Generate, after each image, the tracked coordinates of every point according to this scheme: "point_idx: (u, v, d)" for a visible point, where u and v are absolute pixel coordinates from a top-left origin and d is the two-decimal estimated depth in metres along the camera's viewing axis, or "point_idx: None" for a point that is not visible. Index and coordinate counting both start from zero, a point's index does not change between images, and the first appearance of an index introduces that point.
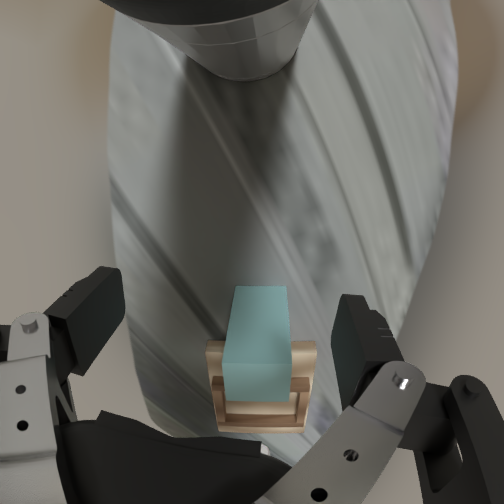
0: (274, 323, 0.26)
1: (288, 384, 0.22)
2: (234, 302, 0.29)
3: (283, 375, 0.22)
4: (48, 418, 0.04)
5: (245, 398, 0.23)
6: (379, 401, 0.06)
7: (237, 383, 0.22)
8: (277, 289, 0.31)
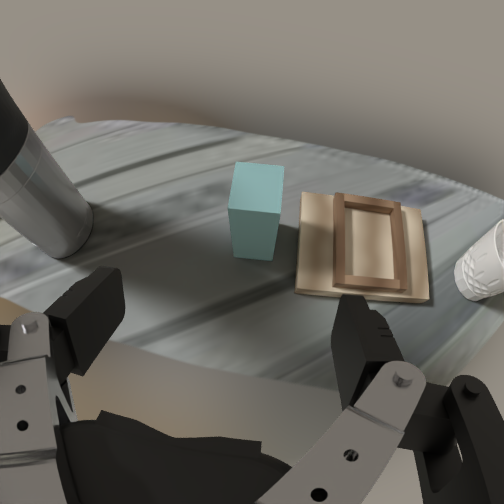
0: None
1: (260, 165, 0.28)
2: None
3: (248, 167, 0.28)
4: (48, 418, 0.04)
5: (278, 197, 0.27)
6: (379, 401, 0.06)
7: (255, 200, 0.27)
8: None
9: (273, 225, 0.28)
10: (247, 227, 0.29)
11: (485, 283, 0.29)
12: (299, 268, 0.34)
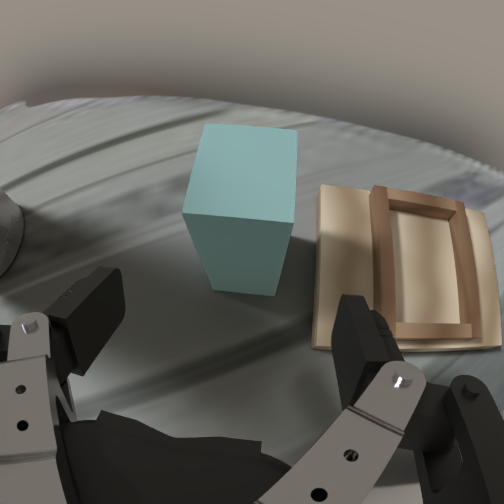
0: None
1: (251, 128, 0.14)
2: None
3: (227, 133, 0.14)
4: (48, 418, 0.04)
5: (287, 187, 0.13)
6: (379, 401, 0.06)
7: (240, 194, 0.13)
8: None
9: (278, 245, 0.14)
10: (227, 247, 0.15)
11: None
12: (320, 311, 0.20)
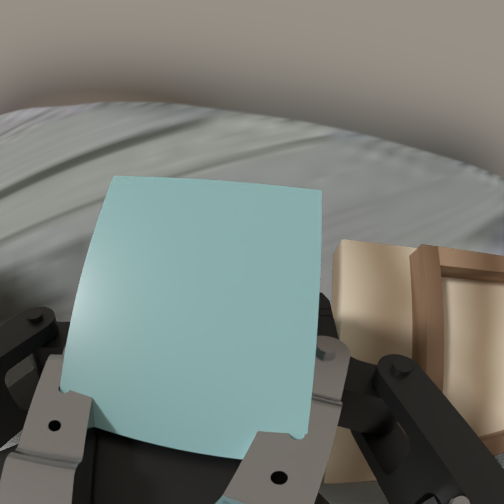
0: None
1: (213, 186, 0.06)
2: None
3: (155, 200, 0.06)
4: (83, 425, 0.04)
5: (295, 369, 0.05)
6: None
7: (174, 388, 0.05)
8: None
9: None
10: None
11: None
12: None
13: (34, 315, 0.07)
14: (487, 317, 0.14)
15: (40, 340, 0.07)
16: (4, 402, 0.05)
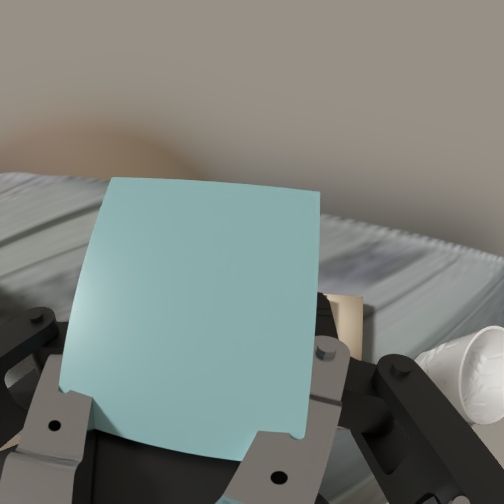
0: None
1: (210, 188, 0.06)
2: None
3: (153, 202, 0.06)
4: (83, 425, 0.04)
5: (292, 371, 0.05)
6: None
7: (172, 390, 0.05)
8: None
9: None
10: None
11: None
12: None
13: (34, 315, 0.07)
14: None
15: (40, 340, 0.07)
16: (4, 402, 0.05)
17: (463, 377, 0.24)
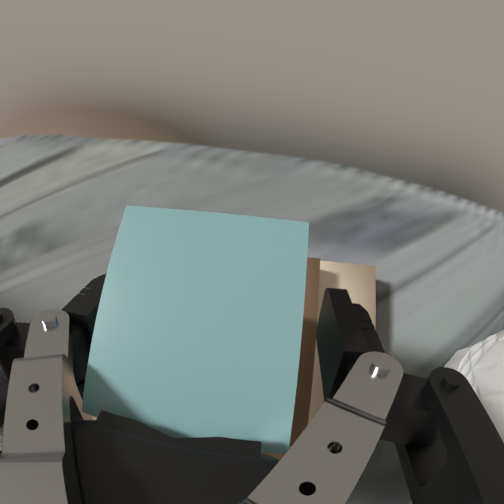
0: None
1: (214, 218, 0.07)
2: None
3: (164, 230, 0.07)
4: (59, 419, 0.04)
5: (281, 376, 0.06)
6: (353, 390, 0.06)
7: (182, 390, 0.06)
8: None
9: None
10: None
11: None
12: None
13: None
14: None
15: None
16: None
17: None
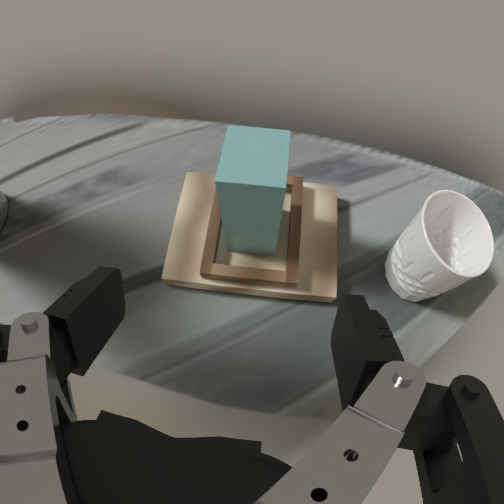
0: None
1: (259, 129, 0.21)
2: (225, 234, 0.27)
3: (243, 132, 0.21)
4: (48, 418, 0.04)
5: (282, 167, 0.20)
6: (379, 401, 0.06)
7: (252, 170, 0.20)
8: None
9: (276, 206, 0.21)
10: (242, 208, 0.22)
11: (416, 277, 0.24)
12: (167, 256, 0.29)
13: None
14: None
15: None
16: None
17: None
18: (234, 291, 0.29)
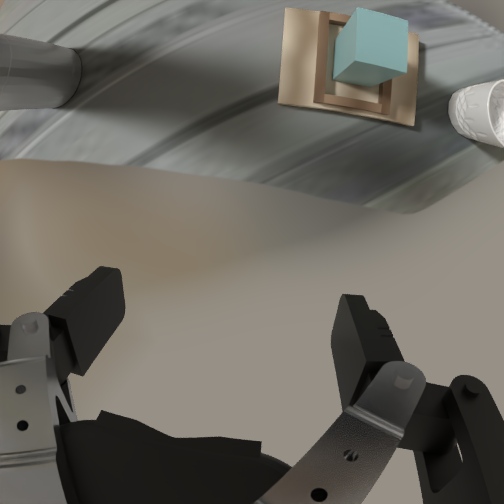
0: (345, 34, 0.23)
1: (384, 15, 0.18)
2: (337, 74, 0.27)
3: (371, 16, 0.18)
4: (48, 418, 0.04)
5: (404, 54, 0.19)
6: (379, 401, 0.06)
7: (382, 54, 0.19)
8: (335, 45, 0.28)
9: (392, 75, 0.22)
10: (364, 70, 0.23)
11: (474, 130, 0.27)
12: (280, 84, 0.31)
13: None
14: None
15: None
16: None
17: (491, 119, 0.29)
18: (336, 111, 0.33)
